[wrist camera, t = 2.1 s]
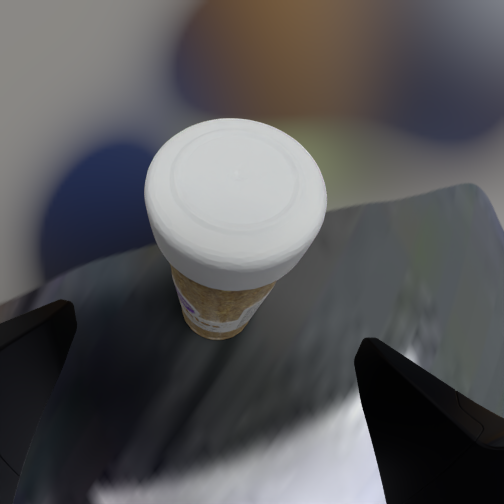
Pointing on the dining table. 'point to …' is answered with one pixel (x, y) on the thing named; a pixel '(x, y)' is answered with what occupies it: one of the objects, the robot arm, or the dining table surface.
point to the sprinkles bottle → (232, 217)
